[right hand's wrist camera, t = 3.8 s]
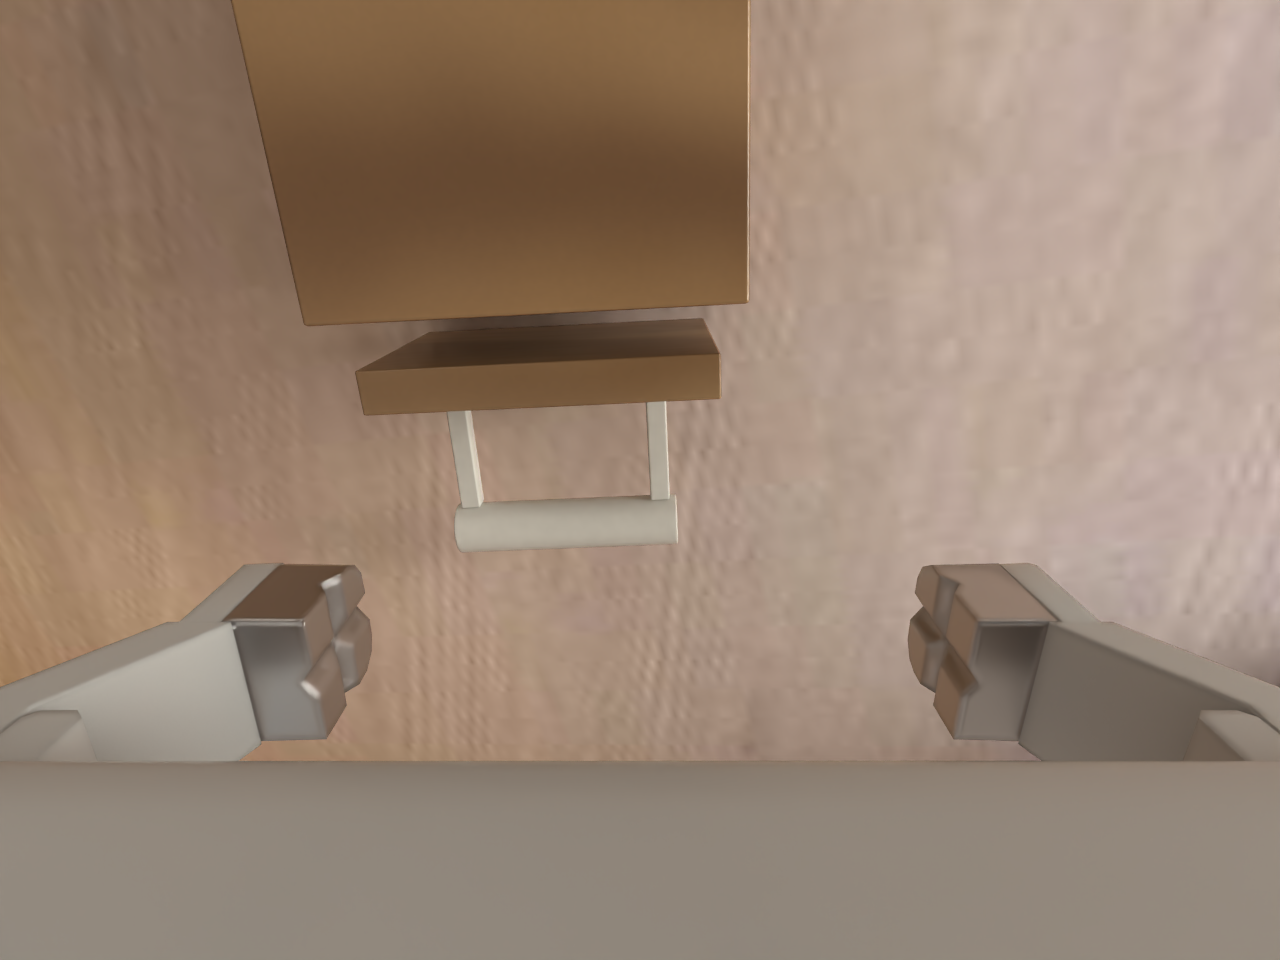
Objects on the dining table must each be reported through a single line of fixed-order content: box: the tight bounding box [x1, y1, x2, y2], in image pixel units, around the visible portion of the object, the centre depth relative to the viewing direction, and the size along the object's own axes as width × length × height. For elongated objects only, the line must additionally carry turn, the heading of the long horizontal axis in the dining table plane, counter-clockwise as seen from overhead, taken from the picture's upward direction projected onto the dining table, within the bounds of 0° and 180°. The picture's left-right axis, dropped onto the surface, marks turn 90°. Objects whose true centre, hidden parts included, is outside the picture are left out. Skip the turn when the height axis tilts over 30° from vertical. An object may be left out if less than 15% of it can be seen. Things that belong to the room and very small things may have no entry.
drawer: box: [355, 318, 721, 552], centre depth 19 cm, size 23×9×6 cm, turn 3°
